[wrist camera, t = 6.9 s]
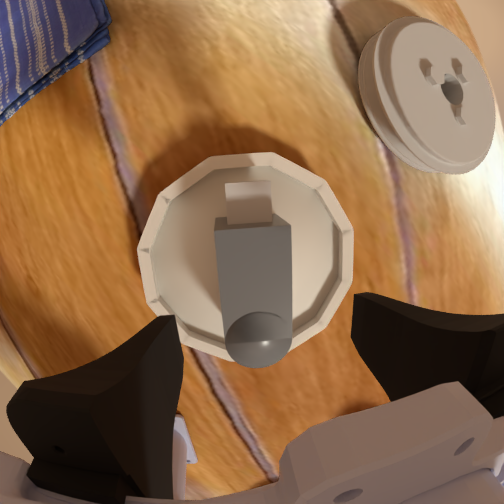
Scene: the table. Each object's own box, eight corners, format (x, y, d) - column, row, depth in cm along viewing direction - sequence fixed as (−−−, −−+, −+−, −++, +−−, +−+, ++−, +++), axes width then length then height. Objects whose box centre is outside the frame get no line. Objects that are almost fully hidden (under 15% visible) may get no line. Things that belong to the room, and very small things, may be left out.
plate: (165, 351, 22) (162, 365, 20) (135, 167, 19) (126, 167, 17) (339, 332, 23) (347, 344, 21) (339, 152, 20) (351, 151, 18)
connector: (226, 334, 21) (228, 370, 17) (213, 182, 18) (210, 185, 14) (278, 329, 21) (292, 363, 17) (273, 179, 19) (289, 180, 14)
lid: (328, 35, 17) (354, 6, 13) (440, 32, 18) (473, 17, 13) (382, 189, 21) (420, 196, 16) (480, 157, 21) (518, 159, 16)
